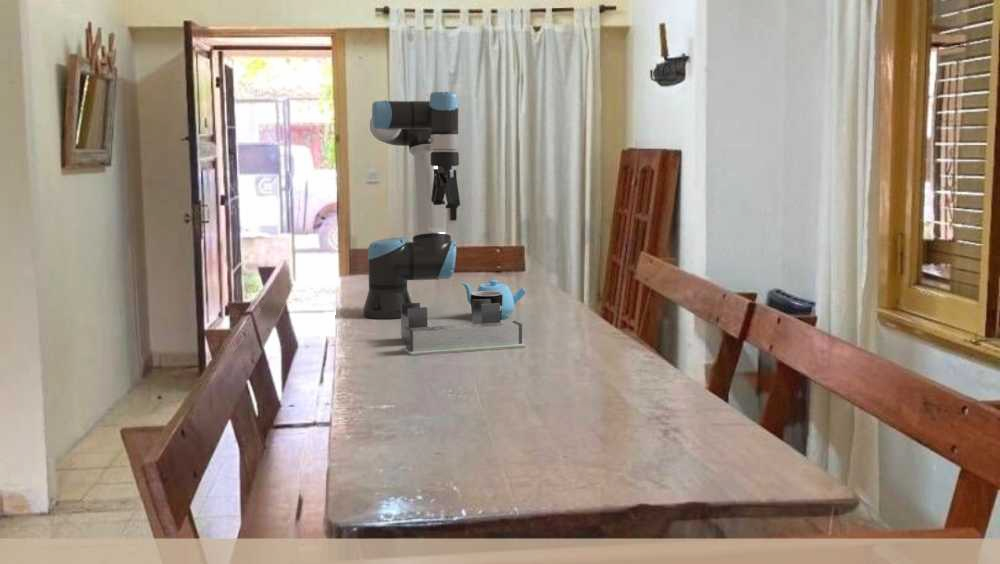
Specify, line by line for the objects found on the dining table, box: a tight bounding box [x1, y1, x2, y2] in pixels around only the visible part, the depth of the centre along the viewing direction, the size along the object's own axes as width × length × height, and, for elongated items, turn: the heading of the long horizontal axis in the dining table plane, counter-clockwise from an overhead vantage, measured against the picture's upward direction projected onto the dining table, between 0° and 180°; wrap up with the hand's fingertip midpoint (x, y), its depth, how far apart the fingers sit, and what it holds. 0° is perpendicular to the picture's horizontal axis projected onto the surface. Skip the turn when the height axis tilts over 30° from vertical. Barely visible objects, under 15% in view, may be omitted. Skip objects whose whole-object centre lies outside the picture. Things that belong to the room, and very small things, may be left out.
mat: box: [402, 343, 526, 357], centre depth 258 cm, size 9×30×1 cm, turn 108°
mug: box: [470, 291, 503, 322], centre depth 285 cm, size 12×9×10 cm
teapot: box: [460, 279, 528, 320], centre depth 301 cm, size 15×14×11 cm
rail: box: [404, 320, 523, 352], centre depth 257 cm, size 30×5×5 cm, turn 108°
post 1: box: [400, 302, 428, 342], centre depth 266 cm, size 9×5×10 cm, turn 18°
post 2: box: [471, 299, 501, 324], centre depth 272 cm, size 9×5×10 cm, turn 18°
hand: (445, 230), depth 270 cm, fingers open, 13 cm apart
